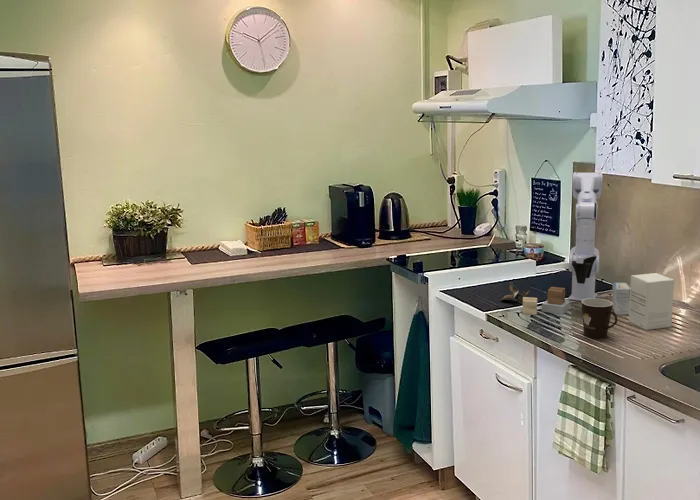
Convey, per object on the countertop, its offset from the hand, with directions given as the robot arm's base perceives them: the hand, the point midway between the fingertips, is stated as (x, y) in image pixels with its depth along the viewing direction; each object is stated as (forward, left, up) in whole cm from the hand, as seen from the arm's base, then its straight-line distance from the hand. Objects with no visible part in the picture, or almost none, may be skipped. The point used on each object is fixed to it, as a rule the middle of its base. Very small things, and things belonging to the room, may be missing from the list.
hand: (583, 280), depth 226 cm
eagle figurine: (-2, -23, -11) cm, 26 cm away
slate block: (+2, -8, -11) cm, 14 cm away
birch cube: (+8, -15, -11) cm, 20 cm away
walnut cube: (+2, -8, -8) cm, 11 cm away
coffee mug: (+23, +9, -11) cm, 27 cm away
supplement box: (+5, +21, -11) cm, 24 cm away
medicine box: (-5, +11, -11) cm, 16 cm away
